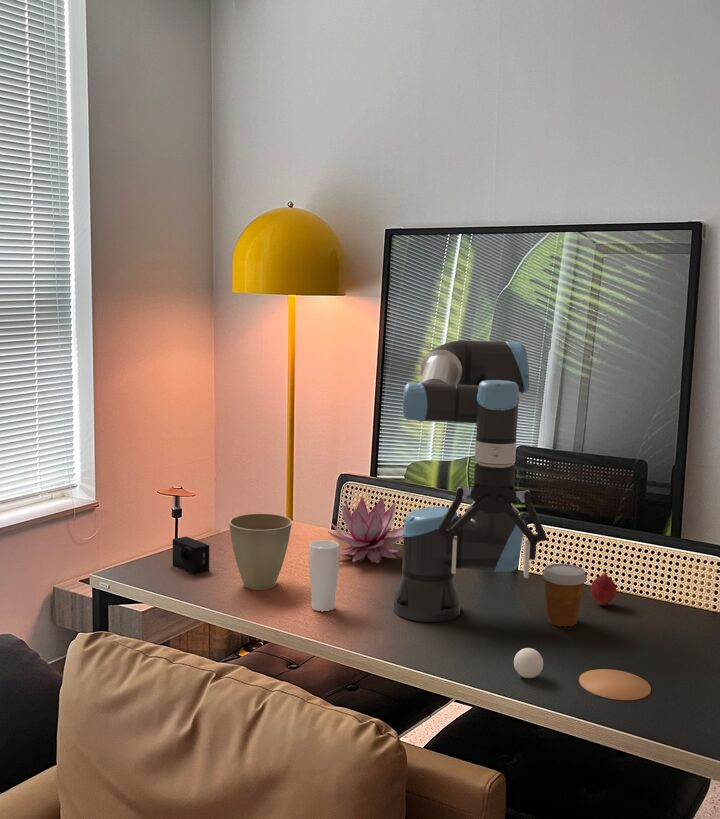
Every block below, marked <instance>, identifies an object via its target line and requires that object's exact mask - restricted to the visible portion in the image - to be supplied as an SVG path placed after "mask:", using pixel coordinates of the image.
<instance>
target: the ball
mask: <svg viewBox="0 0 720 819" xmlns="http://www.w3.org/2000/svg"><path fill="white" fill-rule="evenodd" d="M513 658H514V659H513V666H514V669H515V671H516V672H517V673H518V675H519V676H521V677H523V678H525V679H533V678H536V677H538V675H540V674H541V673H542V670H543V667H544V659H543V656H542V655H541V654H540V652H538V651H537V650H536V649H534V648H531V647H525V648H522V649H519V651H517V653H516V654H515V656H514V657H513Z"/></svg>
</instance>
